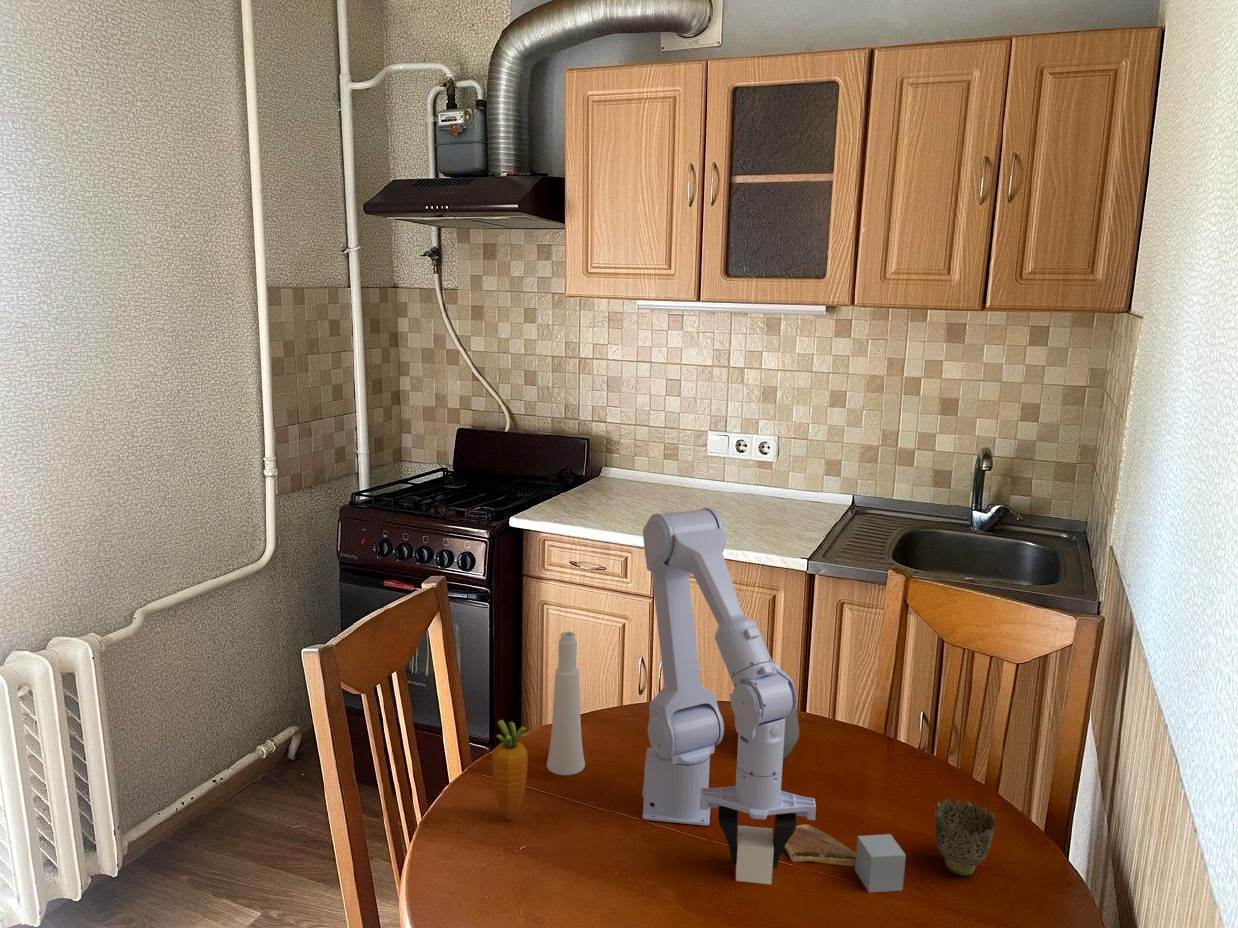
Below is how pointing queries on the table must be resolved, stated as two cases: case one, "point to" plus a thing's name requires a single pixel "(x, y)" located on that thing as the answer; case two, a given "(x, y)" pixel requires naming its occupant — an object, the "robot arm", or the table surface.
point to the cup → (790, 732)
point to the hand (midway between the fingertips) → (753, 861)
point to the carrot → (509, 769)
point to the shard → (818, 847)
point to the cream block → (754, 854)
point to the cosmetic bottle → (566, 713)
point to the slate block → (880, 863)
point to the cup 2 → (963, 835)
